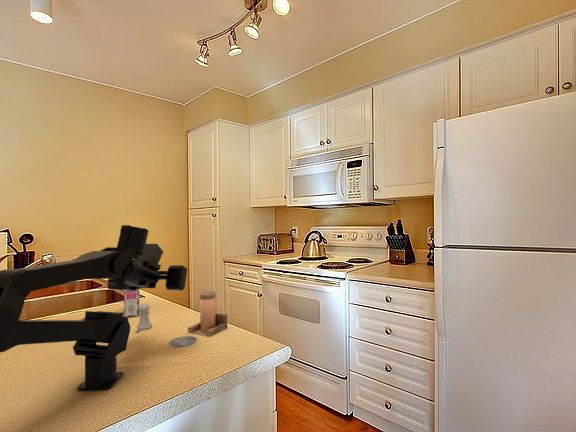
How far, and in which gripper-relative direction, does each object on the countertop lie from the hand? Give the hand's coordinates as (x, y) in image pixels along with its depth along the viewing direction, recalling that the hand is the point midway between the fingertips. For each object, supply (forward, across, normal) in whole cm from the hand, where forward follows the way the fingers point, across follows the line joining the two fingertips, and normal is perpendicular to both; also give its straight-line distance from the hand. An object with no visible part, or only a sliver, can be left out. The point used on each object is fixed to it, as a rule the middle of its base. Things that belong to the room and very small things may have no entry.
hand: (168, 282), depth 92 cm
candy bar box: (+25, +28, +7) cm, 38 cm away
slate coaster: (+2, -6, +16) cm, 18 cm away
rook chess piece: (+10, +11, +13) cm, 20 cm away
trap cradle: (+10, -9, +13) cm, 19 cm away
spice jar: (+10, -9, +12) cm, 18 cm away
